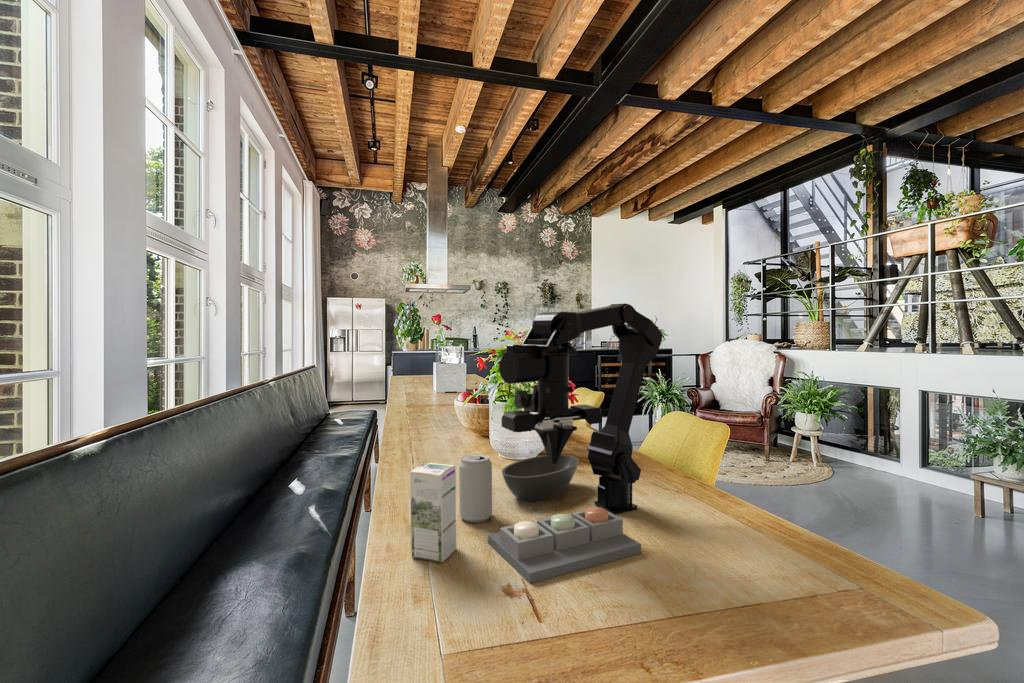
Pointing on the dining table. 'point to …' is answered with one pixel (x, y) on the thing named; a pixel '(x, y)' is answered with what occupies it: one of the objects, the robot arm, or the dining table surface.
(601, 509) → the rust button
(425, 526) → the syrup box
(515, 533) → the cream button
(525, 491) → the bowl
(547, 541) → the panel
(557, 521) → the sage button
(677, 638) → the dining table surface
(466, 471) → the beverage can
